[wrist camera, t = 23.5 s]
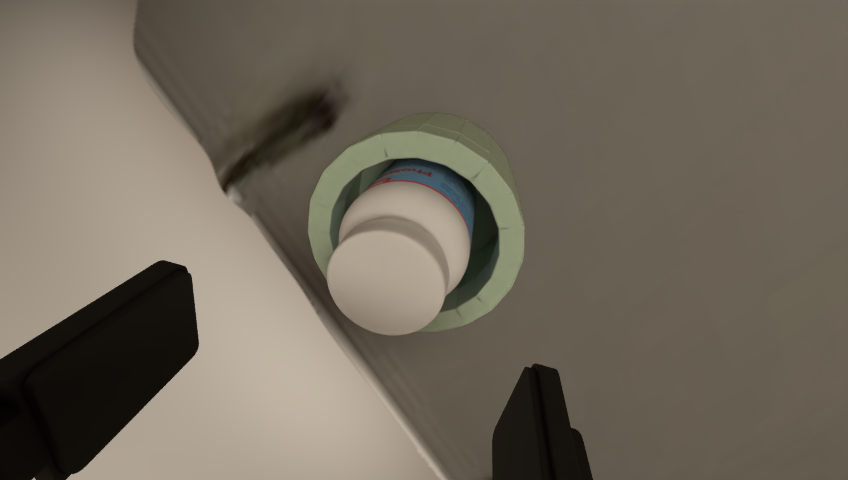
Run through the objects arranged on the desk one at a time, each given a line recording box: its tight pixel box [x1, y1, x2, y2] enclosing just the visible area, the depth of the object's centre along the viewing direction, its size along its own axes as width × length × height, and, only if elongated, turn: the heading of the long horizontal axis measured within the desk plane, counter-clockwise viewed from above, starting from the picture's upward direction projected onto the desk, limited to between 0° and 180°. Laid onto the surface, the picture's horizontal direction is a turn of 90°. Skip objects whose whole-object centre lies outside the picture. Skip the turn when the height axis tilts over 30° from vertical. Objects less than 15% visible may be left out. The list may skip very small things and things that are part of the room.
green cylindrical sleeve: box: [308, 113, 525, 332], centre depth 21 cm, size 10×10×8 cm
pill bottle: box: [327, 158, 476, 335], centre depth 19 cm, size 6×6×11 cm
